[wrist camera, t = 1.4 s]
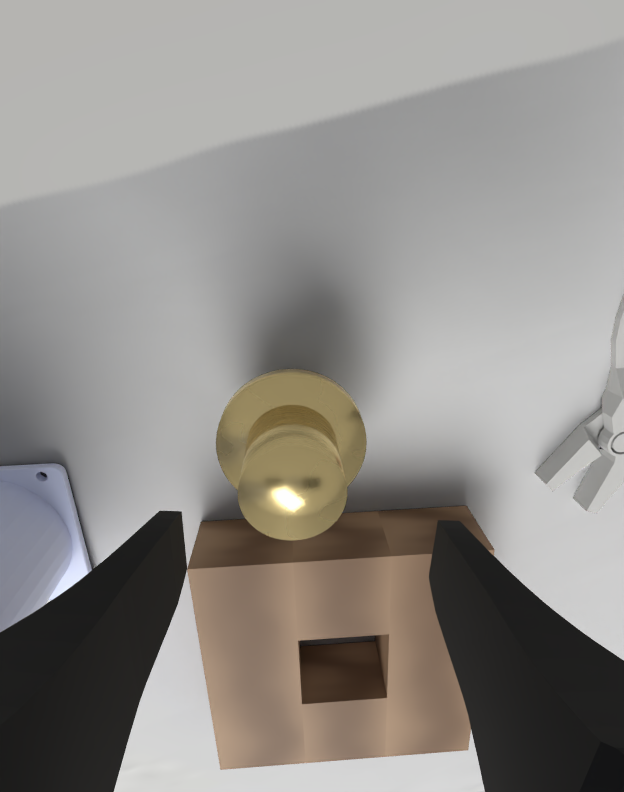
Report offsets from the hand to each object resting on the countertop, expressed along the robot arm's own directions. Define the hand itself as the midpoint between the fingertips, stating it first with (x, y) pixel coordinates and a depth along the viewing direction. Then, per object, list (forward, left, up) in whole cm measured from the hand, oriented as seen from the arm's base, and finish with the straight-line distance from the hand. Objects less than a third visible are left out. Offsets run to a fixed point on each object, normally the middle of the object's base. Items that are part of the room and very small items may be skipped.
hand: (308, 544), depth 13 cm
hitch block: (+2, -13, -10) cm, 16 cm away
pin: (0, 0, -10) cm, 10 cm away
